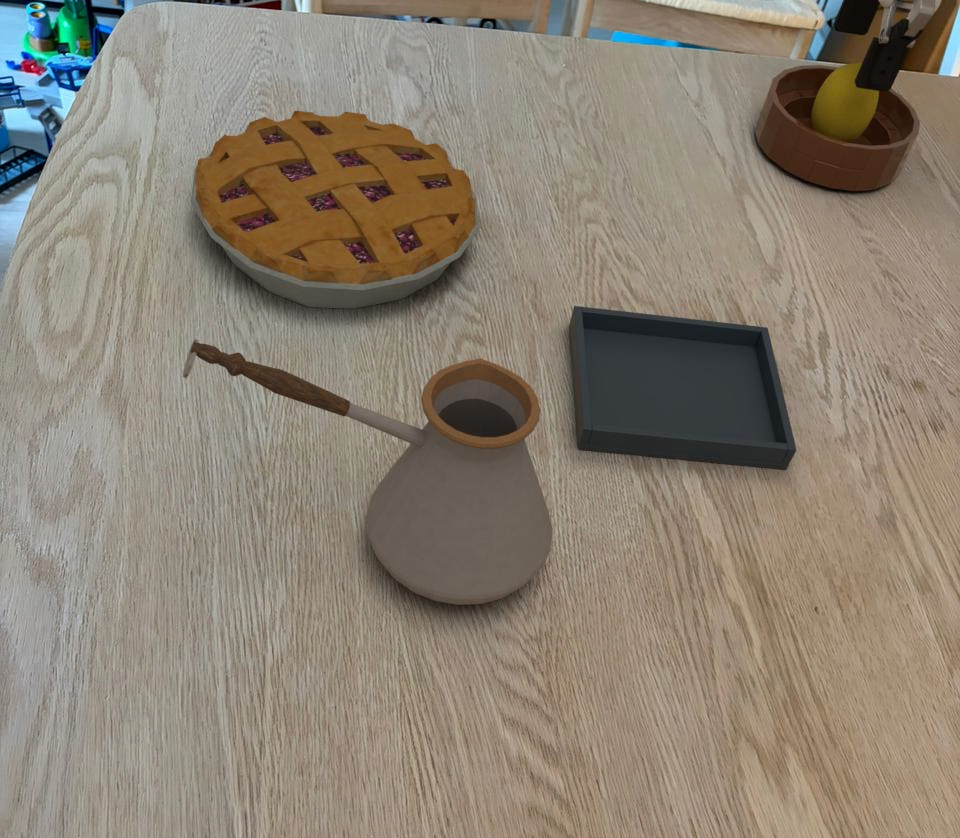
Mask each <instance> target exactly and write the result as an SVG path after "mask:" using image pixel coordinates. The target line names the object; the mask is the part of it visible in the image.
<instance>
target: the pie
mask: <svg viewBox="0 0 960 838" xmlns="http://www.w3.org/2000/svg"><path fill="white" fill-rule="evenodd" d="M192 180H193V181H192V190H191V198H190V203H191V205H192V207H193V208H194V210H195V212H196V214H197V216H198V218H199V219H200V221H201V223H202V225H203V227H204V229H205V230H206V232H207V233H208V235H209V237H210V238H211V239H212V240H213V241H214V242H216V243H217V244H219V245H220V246H221V247H222V249H223V250H224V252H225V253H226V255H227V256H228V257H229V259H230V261H231V263H233V265H234V266H235V267H236V268H238V269H239V270H240V271H242V272H243V273H244V274H245V275H247V276H248V277H249V278H251V279H252V280H253V281H254V282H256V283H257V284H259V285H260V286H261V287H262V288H264V289H265V290H266V291H268V293H272V294H274V295H277V296H280V297H282V298H284V299H287V300H290V301H292V302H295V303H297V304H300V305H303V306H305V307H307V308H318V309H319V308H321V309H322V308H323V309H347V310H356V309H360V308H365V307H370V306H375V305H380V304H385V303H389V302H395V301H399V300H403V299H405V298H407V297H408V296H410V295H412V294H413V293H415V292H418V291H419V290H421V289H423V288H425V287H426V286H428V285H430V284H432V283H434V282H436V281H438V280H439V278H440V277H441V276H442V275H443V274H444V272H445V271H446V269H448V267H449V265H450V264H451V263H452V262H454V261H456V260H457V259H459V258H461V256H462V255H463V253H464V252H465V250H466V249H467V248H468V246H469V245H470V243H471V242H472V241H473V239H474V237H475V236H476V235H477V233H478V232H479V230H480V229H481V225H480V216H479V209H478V204H477V196H476V194H475V192H474V191H473V189H472V185H471V179H470V177H469V176H468V175H467V173H466V172H465V170H463V169H457V168H455V166H454V165H453V164H452V163H451V161H450V159H449V157H448V153H447V150H445V149H444V148H443V147H442V146H441V145H440V144H438V143H437V142H436V143H435V142H434V143H430V144H426V143H423V142H421V141H419V140H418V139H417V138H415V135H414V133H413V131H412V129H409V128H406V127H404V126H401V125H399V124H396V123H385V124H381V123H378V122H374V121H371V120H369V119H368V116H367V115H366V113H359V112H351V111H344V112H343V113H342V114H340V115H338V116H335V115H333V116H332V115H319V114H317V113H314V112H313V111H304V110H294V111H293V113H292V115H291V117H290V118H288V119H284V120H279V121H276V120H274V119H271V118H269V117H267V116H263V117H261V118H258V119H256V120H252V121H250V122H249V123H248V125H247V127H246V129H245V131H244V132H242V133H240V134H238V135H227V134H223V135H222V136H221V137H220V138H219V139H218V140H216V141H215V143H214V145H213V147H212V150H211V152H210V153H209V154H208V155H207V156H205V157H201V158H199V159H197V164H196V167H195V168H194V171H193V179H192Z"/></svg>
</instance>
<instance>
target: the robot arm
mask: <svg viewBox="0 0 960 838" xmlns="http://www.w3.org/2000/svg"><path fill="white" fill-rule="evenodd" d="M941 3H942V0H912V1H908V0H842V2H841V5H840V7H839V10H838V12H837V15H836V17H835V19H834V22H833V28H834V31H835V32H838V33H845V34H851V35H857V36H866V35H867V34H868V33H869V31H870V28H871V26H872V23H873V21H874V19H875V16H876V14H877V12H878V10H879V7H880V5H881V6H882V7H883V11H882V12H883V13H882V17H881V23H880V28H879V34H878V37H876V36H873V38H872V40H871V42H870V44H869V46H868V48H867V51H866V52H865V55H864V58H863V60H862V61H861V62H862V65H861V67H860V69H859V72H858V74H857V76H856V78H855V85H856V87H858V88H863V89H870V90H876V91H883V92H887V91H889V90H890V89H892V87H893V85H894V83H895V81H896V78H897V77H898V74H899V72H900V70H901V69H902V65H903V63H904V61H905V59H906V58H907V55H908V53H909V51H910V49H912V48H913V47H914V46H915V44H916V40H917V39H919V38H920V36H921V35H922V34H923V32H924V28H925V27H926V25H927V24H928V23H929V21H930V20H931V19H932V18H933V16H934V13H936V12H937V11H938V9H939V7H940V5H941ZM896 14H903V15H907V17H906V18H901V19H899V21H896V23H895V24H894V20H895V16H896Z"/></svg>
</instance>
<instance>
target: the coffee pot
mask: <svg viewBox="0 0 960 838" xmlns="http://www.w3.org/2000/svg"><path fill="white" fill-rule="evenodd" d="M196 357H197V358H199V359H201V360H202V361H203V362H206V363H207V364H210V365H218V366H221V367H223V368H225V370H226V371H227V372H228V374H229V375H230V376H231V377H238V376H241V375H242V376H243V377H245V378H247V379H249V380H251V381H252V382H254V383H256V384H258V385H260V386H261V387H263V388H265V389H267V390H269V391H270V392H272V393H273V394H276V395H279V396H282V397H284V398H288V399H290V400H294V401H296V402H299V403H303V404H306V405H309V406H312V407H315V408H318V409H321V410H324V411H325V412H330V413H332V414H335V415H338V416H341V417H348V418H350V419H352V420H354V421H357V422H359V423H362V424H364V425H366V426H368V427H371V428H373V429H376V430H377V431H380V432H382V433H384V434H387V435H389V436H392V437H395V438H397V439H399V440H401V441H403V442H406V443H409V445H408V446H407V447H406V449H405V450H404V452H403V453H402V454H401V455H400V457H398V459H397V461H395V463H394V464H393V466H391V468H390V469H389V470H388V471H387V473H386V474H385V475H384V476H383V478H382V479H381V481H380V482H379V483H378V485H377V487H376V488H375V489H374V491H373V493H372V494H371V496H370V499H369V503H368V507H367V510H366V515H365V520H366V521H365V522H366V529H367V530H366V531H367V538H368V541H369V543H370V544H371V545H370V546H371V547H372V549H373V552H374V553H375V555H376V558H377V559H378V561H379V562H380V564H381V565H382V566H383V568H385V570H386V571H387V572H388V573H389V574H390V576H392V578H393V579H394V580H395V581H397V582H398V583H400V584H401V585H402V586H404V587H405V588H407V589H408V590H409V591H411V592H413V593H415V594H417V595H420V596H422V597H425V598H427V599H429V600H432V601H435V602H440V603H446V604H451V605H457V606H462V605H483V604H486V603H489V602H494V601H498V600H501V599H503V598H505V597H507V596H509V595H511V594H512V593H514V592H516V591H518V590H520V589H521V588H523V587H524V586H525V585H527V584H528V583H529V582H530V581H531V580H532V579H533V578H534V577H535V576H536V575H537V573H539V572H540V571H541V569H542V568H543V566H544V564H545V562H546V560H547V558H548V556H549V554H550V552H551V548H552V539H553V525H552V522H551V517H550V511H549V509H548V506H547V503H546V499H545V497H544V493H543V491H542V488H541V484H540V482H539V479H538V476H537V472H536V470H535V466H534V463H533V460H532V458H531V455H530V454H531V453H530V452H529V449H528V446H527V442H526V438H527V437H528V436H529V435H530V434H532V432H533V431H534V430H535V428H536V427H537V425H538V423H539V421H540V415H541V406H540V403H539V399H538V396H537V394H536V393H535V391H534V390H533V388H532V386H531V385H530V384H529V383H528V382H527V381H526V380H525V379H523V378H522V377H521V376H520V375H518V374H516V373H514V372H513V371H512V370H510V369H507V368H505V367H504V366H502V365H499V364H497V363H494V362H493V361H492V362H491V361H489V360H486V359H483V358H475V359H470V360H469V359H468V360H465V361H462V362H461V361H460V362H457V363H454V364H451V365H448V366H446V367H443V368H441V369H440V370H438V371H437V372H435V373H434V374H433V375H431V377H430V378H429V379H428V381H427V382H426V384H425V385H424V387H423V389H422V393H421V399H420V400H421V405H422V411H423V414H424V415H425V417H426V419H427V422H426V423H425V425H424V426H423V428H419V427H417V426H415V425H411V424H408V423H405V422H403V421H400V420H399V419H395V418H392V417H390V416H388V415H384V414H382V413H379V412H377V411H373V410H371V409H368V408H366V407H363V406H360V405H358V404H355V403H352V402H351V401H350V400H348V399H346V398H344V397H343V396H340V395H337V394H335V393H333V392H331V391H330V390H327V389H326V388H325V389H324V388H323V387H321V386H318V385H316V384H314V383H312V382H309V381H308V380H306V379H303V378H302V377H299V376H297V375H295V374H292V373H290V372H288V371H286V370H283V369H281V368H276V367H272V366H268V365H264V364H260V363H255V362H253V361H250V360H249V361H248V360H246V359H245V357H244V355H243V354H242V353H241V352H234V353H230V354H229V353H226V352H224V351H221V350H220V349H219V348H218V347H216V346H215V345H211V344H207V343H203V342H202V343H200V342H199V339H196V338H194V340H193V341H192V344H191V346H190V349H189V350H188V354H187V357H186V360H185V363H184V367H183V371H182V378H185V379H188V377H189V376H190V373H191V371H192V368H193V367H194V364H195V363H194V362H195V360H196Z"/></svg>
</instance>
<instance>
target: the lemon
mask: <svg viewBox="0 0 960 838" xmlns="http://www.w3.org/2000/svg"><path fill="white" fill-rule="evenodd" d="M862 62H863V61H858V62H853V63H847V64H844V65H841V66H838V67H837V69H836V70H835V71H834V72H832V73H831V74H830V75H829V76H828V78H827V79H826V80H825V82H824V83H823V84H822V86H821V88H820V90H819V92H818V94H817V96H816V99H815V101H814V105H813V109H812V126H813V129H814V131H816V132H818V133H820V134H822V135H824V136H827V137H830V138H834V139H837V140H841V141H844V142H847V143H850V142H852V141H854V140H855V139H857V138H858V137H859V136H860V135H861V134H862V133H863V132H864V131H865V129H866V128H867V126H868V125H869V123H870V121H871V120H872V118H873V115H874V113H875V110H876V107H877V103H878V97H879V91H876V90H870V89H863V88H858V87H856V85H855V78H856V76H857V74H858V72H859V69H860V67H861V65H862Z"/></svg>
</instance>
